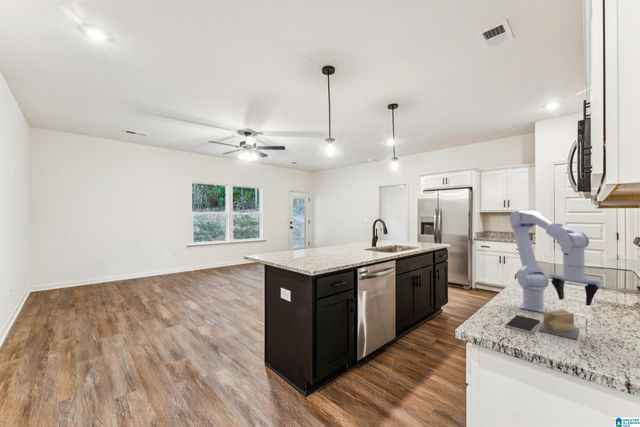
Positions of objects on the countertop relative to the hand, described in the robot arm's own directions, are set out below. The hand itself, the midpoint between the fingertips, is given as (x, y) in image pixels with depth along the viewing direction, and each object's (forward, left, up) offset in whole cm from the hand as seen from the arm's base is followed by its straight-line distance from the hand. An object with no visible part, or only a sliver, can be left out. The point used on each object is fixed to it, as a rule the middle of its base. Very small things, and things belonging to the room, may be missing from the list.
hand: (574, 301), depth 98 cm
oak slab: (+7, -4, -9) cm, 12 cm away
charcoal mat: (+7, -4, -9) cm, 12 cm away
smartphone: (+10, -14, -10) cm, 20 cm away
